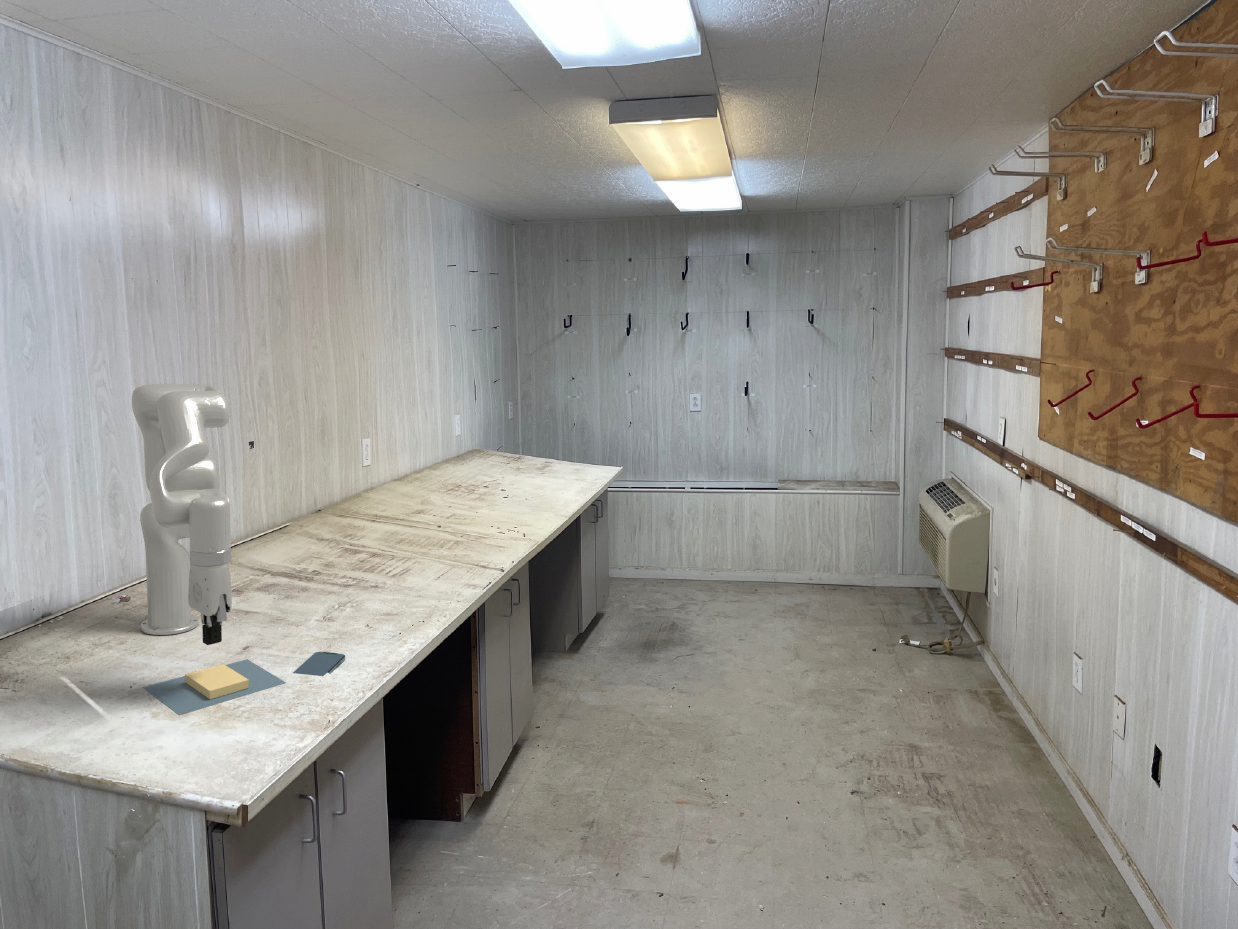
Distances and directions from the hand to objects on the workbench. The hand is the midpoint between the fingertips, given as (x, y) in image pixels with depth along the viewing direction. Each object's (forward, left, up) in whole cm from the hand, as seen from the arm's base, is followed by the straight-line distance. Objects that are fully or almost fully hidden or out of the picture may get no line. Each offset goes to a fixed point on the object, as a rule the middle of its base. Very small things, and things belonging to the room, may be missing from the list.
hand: (212, 642), depth 176 cm
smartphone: (+6, +20, -11) cm, 24 cm away
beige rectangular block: (-4, 0, -8) cm, 9 cm away
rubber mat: (+1, 0, -10) cm, 10 cm away
